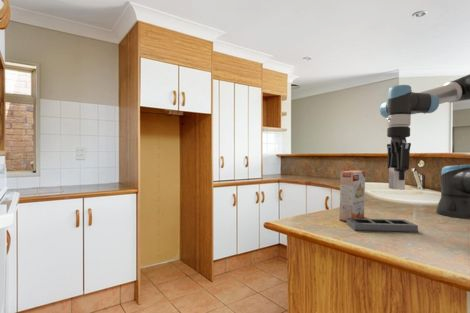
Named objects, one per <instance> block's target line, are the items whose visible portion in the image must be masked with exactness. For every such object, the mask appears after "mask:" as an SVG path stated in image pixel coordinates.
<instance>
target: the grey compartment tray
mask: <svg viewBox="0 0 470 313" xmlns="http://www.w3.org/2000/svg"><path fill="white" fill-rule="evenodd" d="M346 225H347V226H349V227H350V228H351V229H352V230H353V231H356V232H387V233H388V232H390V233H392V232H393V233H394V232H395V233H418V232H419V225H418V224H415V223H413V222H412V221H409V220H406V219H404V218H403V219H398V218H364V217H363V218H347V221H346Z"/></svg>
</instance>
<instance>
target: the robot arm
mask: <svg viewBox="0 0 470 313" xmlns="http://www.w3.org/2000/svg"><path fill="white" fill-rule="evenodd" d="M387 94H388V95H387V101H384V102H382V103H381V105H380V108H379V111H380V115H381V116H382V117H383V118H385V119H386V121H387V126H388V127H387V129H386V132H387V133H386V137H387V138H391V140H390V143H387V144H386V149H387V169H389V168H398V169H397V170H396V189H395V190H400V189H405V190H406V171H409V169H410V156H411V155H410V154H411V146H412V145H411V142H407V138H409V137H410V136H411V128H410V126H411V118H412V117H411V116H412V115H416V114H432V113H435V112H436V111H437V110H438V108H439V106H440V105H442V104H445V103H450V104H451V103H457V102H461V101H470V73H469V74H467V75H465V76H462V77H459V78H457V79H454V80H451V81H449V82H445V83H444V84H443V85H441V86H438V87H435V88H431V89H428V90H424V91H420V92H414V91H413V90H412V86H410V85H409V84H398V85H393V86H391V87H389V89H388V92H387ZM440 184H441V185H440V187H441V188H440V194H441V195H440V199H439V202H438V204H437V206H436V213H437V214H438V215H441V216H446V217H447V216H448V217H454V218H460V219H470V164H460V165H459V164H456V165H445V166H443V167H442V168H441V174H440Z"/></svg>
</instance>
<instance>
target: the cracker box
mask: <svg viewBox="0 0 470 313" xmlns="http://www.w3.org/2000/svg"><path fill="white" fill-rule="evenodd" d="M339 179H340V182H339V219H338V220H340V221H343V222H347V218H364V217H365V200H366V197H365V196H366V193H365V191H366V171H365V170H345V171H340V178H339Z"/></svg>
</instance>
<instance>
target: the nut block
mask: <svg viewBox="0 0 470 313" xmlns="http://www.w3.org/2000/svg"><path fill="white" fill-rule="evenodd" d="M388 169H389V170H388V189H392V190H397V189H396V170H397V169H398V168H388ZM399 190H403V191H404V190H406V188H405V189H399Z"/></svg>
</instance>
